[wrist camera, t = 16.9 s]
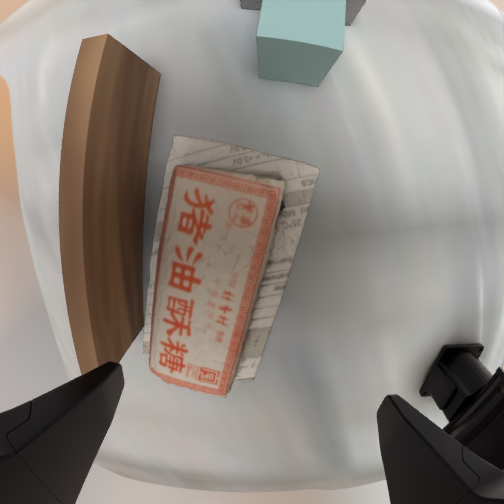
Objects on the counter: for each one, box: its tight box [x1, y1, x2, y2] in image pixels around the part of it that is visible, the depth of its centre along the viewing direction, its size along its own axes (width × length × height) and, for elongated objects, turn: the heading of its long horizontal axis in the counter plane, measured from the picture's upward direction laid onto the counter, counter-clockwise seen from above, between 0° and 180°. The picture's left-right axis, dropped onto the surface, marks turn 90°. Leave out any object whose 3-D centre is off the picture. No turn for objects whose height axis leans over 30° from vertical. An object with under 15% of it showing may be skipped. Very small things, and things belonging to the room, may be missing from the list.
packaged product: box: [143, 135, 319, 398], centre depth 19 cm, size 18×5×10 cm
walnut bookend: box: [59, 34, 161, 375], centre depth 16 cm, size 6×20×8 cm, turn 172°
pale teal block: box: [256, 0, 346, 87], centre depth 13 cm, size 4×5×7 cm
